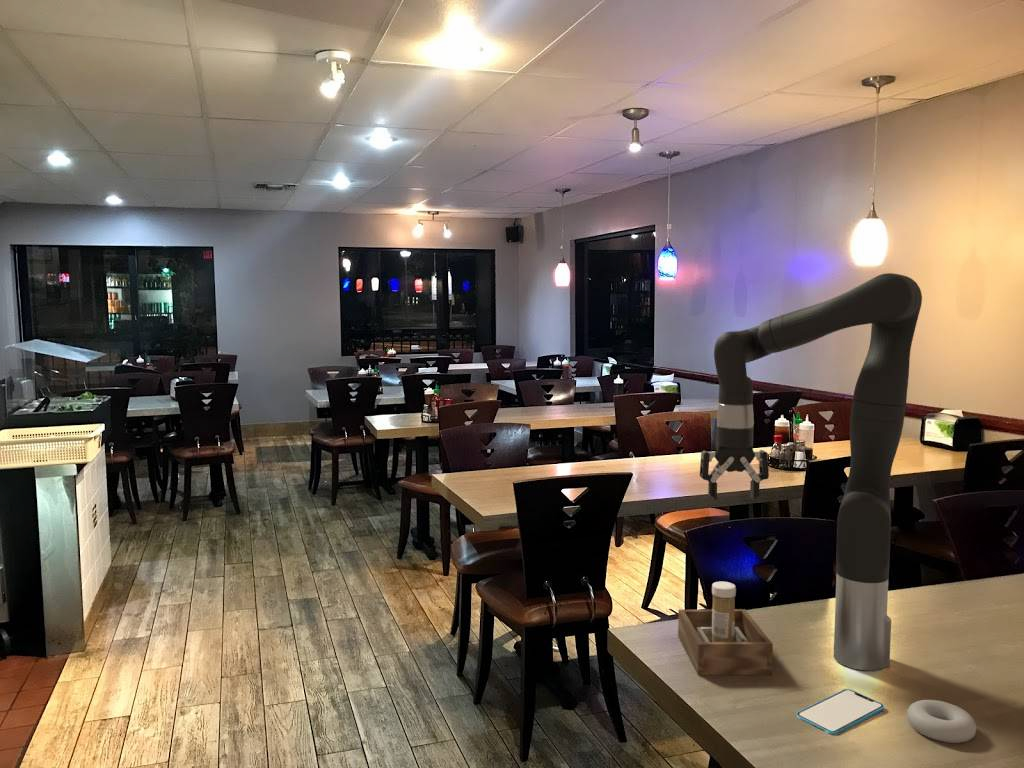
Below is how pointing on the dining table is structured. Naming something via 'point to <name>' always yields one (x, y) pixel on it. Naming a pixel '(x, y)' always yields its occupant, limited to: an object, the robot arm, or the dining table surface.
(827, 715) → the smartphone
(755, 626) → the caddy
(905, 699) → the dining table surface
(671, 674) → the dining table surface
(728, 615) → the sprinkles bottle
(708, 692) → the dining table surface
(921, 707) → the donut
